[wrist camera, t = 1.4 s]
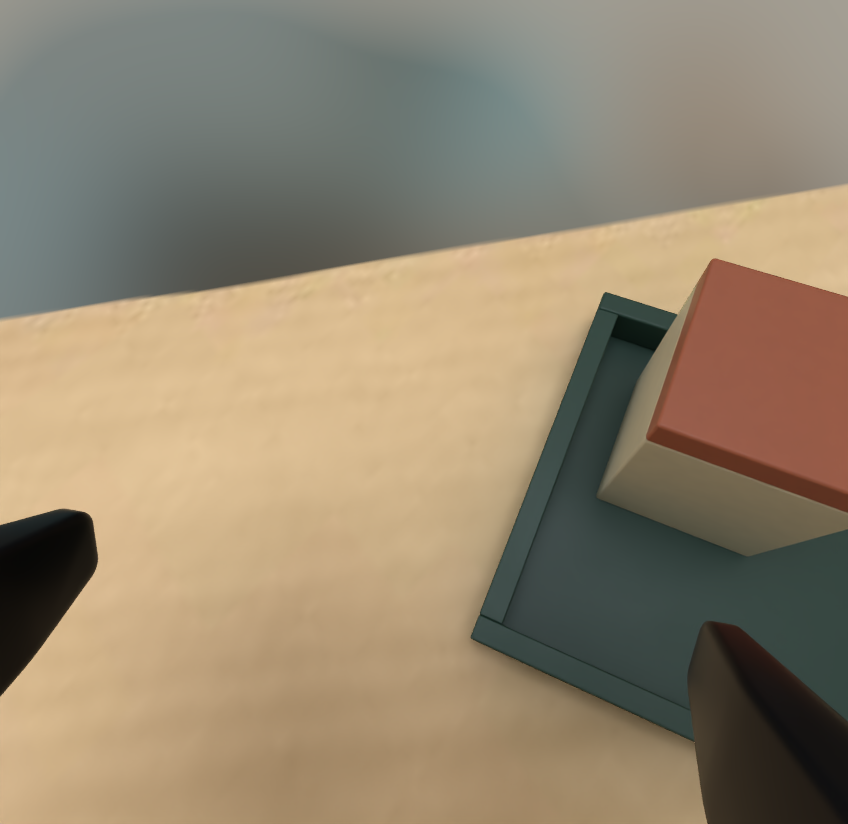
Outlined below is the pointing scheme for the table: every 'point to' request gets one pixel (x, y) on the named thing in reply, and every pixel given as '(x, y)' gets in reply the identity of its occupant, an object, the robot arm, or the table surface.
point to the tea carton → (741, 416)
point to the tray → (646, 563)
